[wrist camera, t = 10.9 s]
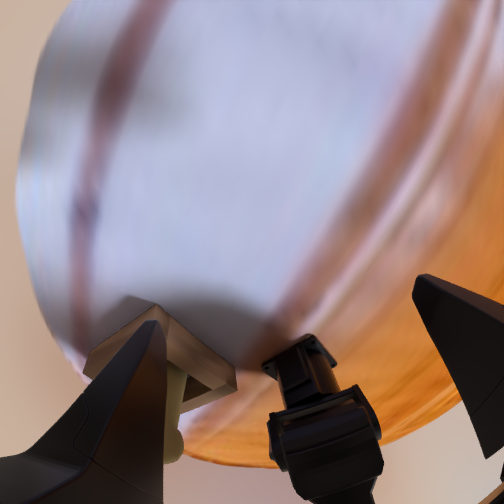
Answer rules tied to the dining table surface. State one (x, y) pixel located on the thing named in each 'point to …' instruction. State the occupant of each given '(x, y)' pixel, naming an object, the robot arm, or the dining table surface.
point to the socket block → (175, 359)
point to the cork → (173, 413)
